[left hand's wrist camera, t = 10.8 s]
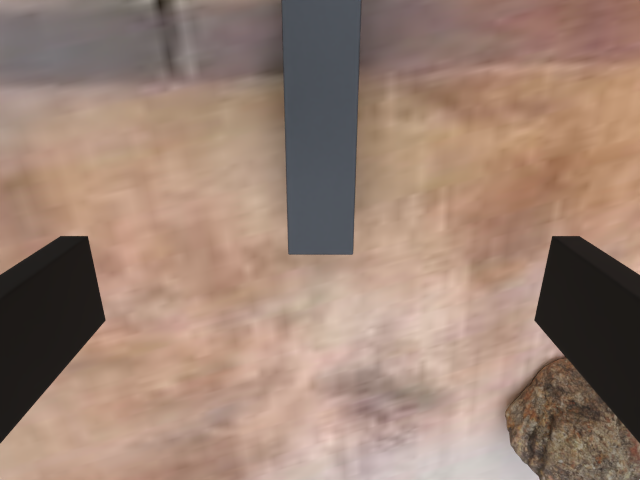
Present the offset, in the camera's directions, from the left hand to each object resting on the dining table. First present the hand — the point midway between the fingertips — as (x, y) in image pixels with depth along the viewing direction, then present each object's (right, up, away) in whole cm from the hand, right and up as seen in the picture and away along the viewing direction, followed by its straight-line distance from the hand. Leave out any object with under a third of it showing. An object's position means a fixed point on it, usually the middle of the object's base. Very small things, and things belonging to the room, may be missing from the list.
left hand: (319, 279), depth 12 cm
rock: (+26, -14, +31) cm, 43 cm away
